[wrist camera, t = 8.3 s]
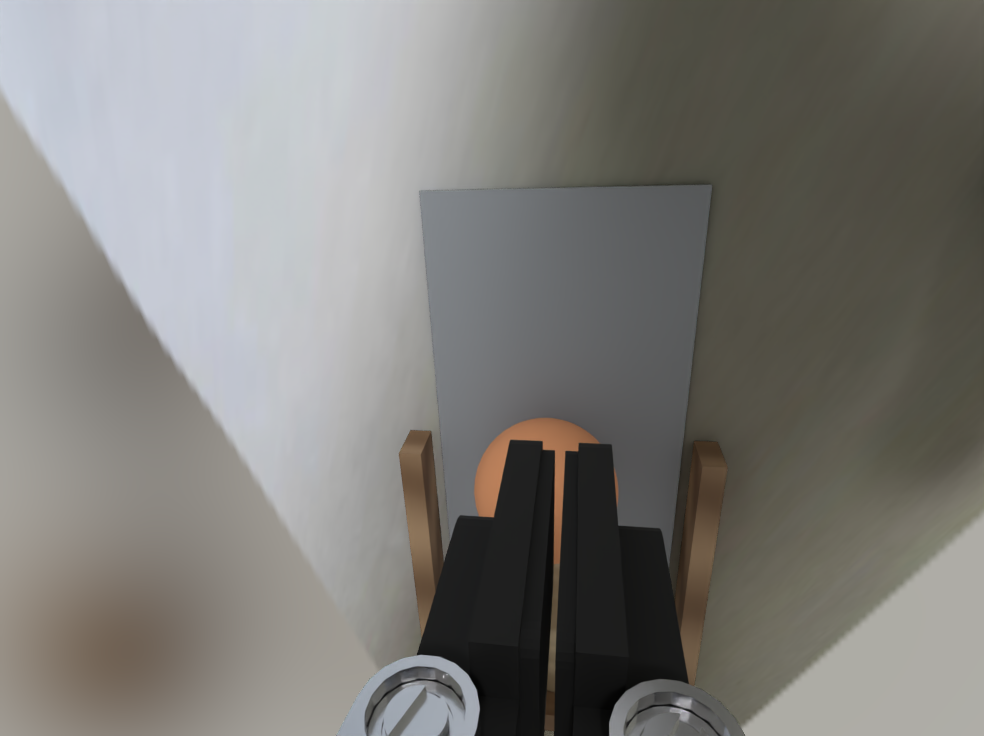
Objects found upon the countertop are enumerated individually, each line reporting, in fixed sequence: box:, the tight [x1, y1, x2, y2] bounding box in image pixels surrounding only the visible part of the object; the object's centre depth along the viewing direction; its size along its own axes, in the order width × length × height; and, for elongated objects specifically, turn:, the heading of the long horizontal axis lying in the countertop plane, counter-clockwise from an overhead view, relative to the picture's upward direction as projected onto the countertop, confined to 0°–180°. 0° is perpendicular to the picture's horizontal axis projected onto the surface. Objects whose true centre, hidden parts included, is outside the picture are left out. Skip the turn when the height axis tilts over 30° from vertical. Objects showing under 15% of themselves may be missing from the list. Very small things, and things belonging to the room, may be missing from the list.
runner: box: [419, 184, 712, 567], centre depth 28 cm, size 26×11×1 cm, turn 2°
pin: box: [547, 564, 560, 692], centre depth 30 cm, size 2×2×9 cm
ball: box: [474, 418, 618, 564], centre depth 25 cm, size 6×6×6 cm
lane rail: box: [399, 430, 728, 731], centre depth 28 cm, size 16×14×4 cm
